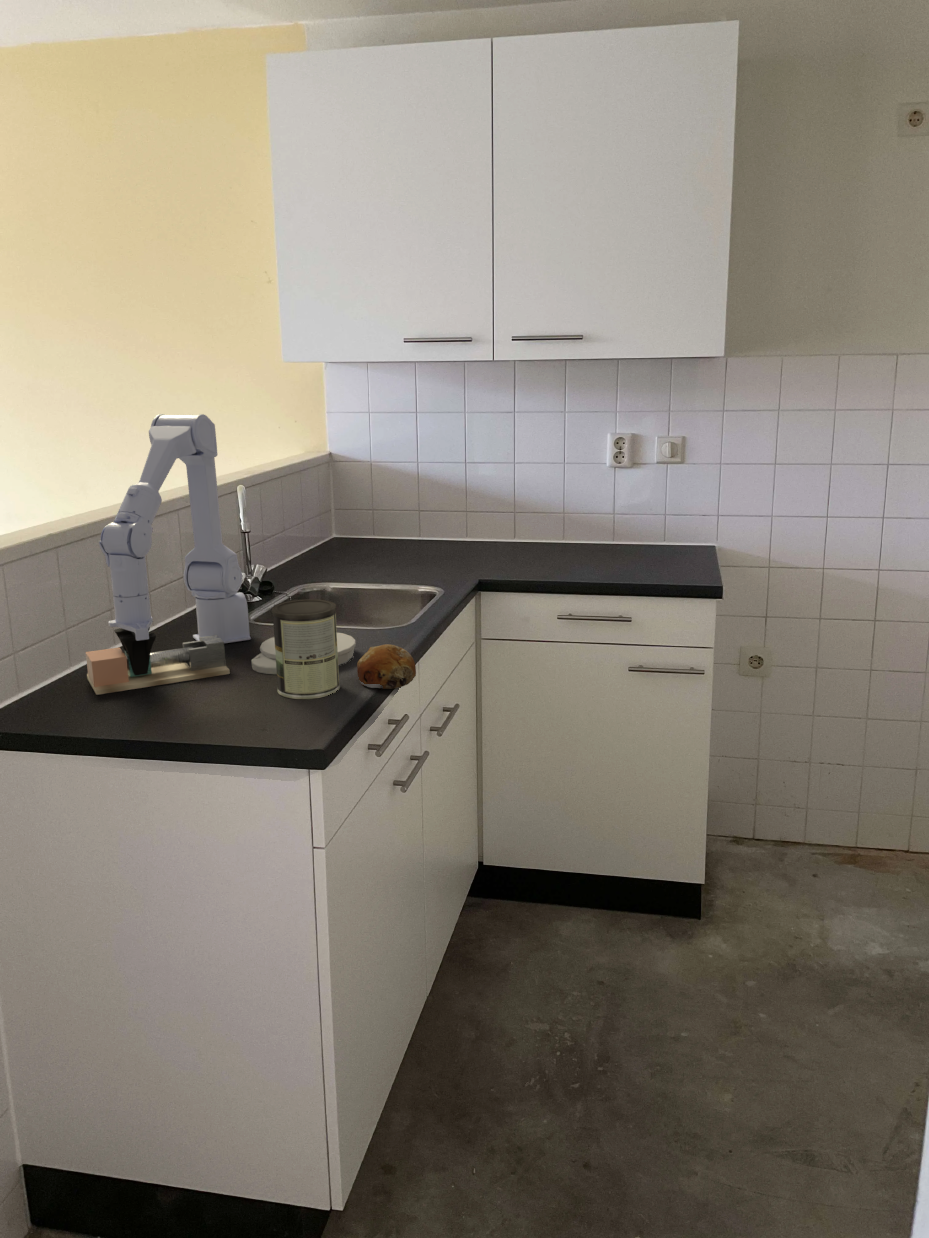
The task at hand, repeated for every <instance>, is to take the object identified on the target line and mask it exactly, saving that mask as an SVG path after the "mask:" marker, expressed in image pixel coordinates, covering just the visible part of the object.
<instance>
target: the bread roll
mask: <svg viewBox="0 0 929 1238" xmlns="http://www.w3.org/2000/svg"><path fill="white" fill-rule="evenodd" d="M356 669H357V678H358V677H359V679H358V681H359V680H360V681H361V682H363V683H364V684H380V685H382V686H383V689H382V690H390V689H399V688H402V687H403V688H404V687H405V686H407V685H409V684H410V683H411V682H412V681H413V680H414V679H415V678H416V675H417V668H416V663H415V659H414V658H413V656H412V655H411V654H410V653H409V652H408V651H407V650H406V649H404V648H403V647H401V646H398V645H395V644H388V643H387V644H381V645H377V646H370V647H369V648H368V650H367V652H365V653H364V654H363V655H362V656H361V657H360V659H358V661H357V663H356Z"/></svg>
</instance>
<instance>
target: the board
mask: <svg viewBox="0 0 929 1238" xmlns="http://www.w3.org/2000/svg"><path fill="white" fill-rule="evenodd" d="M151 672H152V674H147V675H141V676H134V677H130V676H129V674H128V678H129V682H125V683H118V684H112V685H105V686H99V687H94V686H93V684H92V682H91V681H90V679H89V677H88V673H86V679H87V681H88V682H89V684H90V686H91V688H92V689H93V691H94V693H95V695H97V696H98V695H104V694H111V693H117V692H123V691H128V690H135V689H137V690H138V689H142V688H148V687H155V686H156V687H157V686H161V685H168V684H175V683H179V682H181V683H182V682H187V681H192V680H193V681H194V680H201V679H205V678H213V677H218V676H225V675H229V674H230V673H231V672H230V668H228V666H227V665H226V666H222V667H215V668H209V669H202V670H196V671H191V670H190V669H189V668H188V667H187V666H186V665H185V664H184V663H182V664H175V665H168V666H162V667H155V668H151Z"/></svg>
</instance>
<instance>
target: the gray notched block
mask: <svg viewBox="0 0 929 1238" xmlns="http://www.w3.org/2000/svg"><path fill="white" fill-rule="evenodd" d="M188 647H193V648H191V649H188V651H189V663H184V664H185V665H186V666H187V667H188V668H189V669H190V670H191V671H196V670H202V669H209V668H215V667H222V666H226V667H227V664H226V653H225V652H226V651H225V643H224V641H223V640H221V639H220V638H219V637H218V636H217V635H212V636H204V637H199V641H196V640H193V641H186V642H182V648H188Z"/></svg>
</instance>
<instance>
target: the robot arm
mask: <svg viewBox="0 0 929 1238" xmlns="http://www.w3.org/2000/svg"><path fill="white" fill-rule="evenodd" d="M152 419H153V420H152V421H151V424H150V428H149V430H148V437H149V441H150V446H151V447H150V448H149V452H148V454H147V458H146V460H145V462H144V463H145V464H144V467H143V469H142V472H141V475H140V478H139V480H138V482H137V483H135V484H132V485H130V486H129V487H128V489H127V491H126V494H125V496H124V498H123V500H122V503H121V504H120V506H119V509H118V511H117V513H116V516H115V518H114V519H113V522H110V523H108V524H107V525H104V527H103V528H102V530H101V533H100V537H99V538H100V540H99V541H98V546H99V549H100V551H101V552H102V554H103V555H104V558H105V565H106V566H107V567H108V568H109V570H110V571H109V572H110V579H111V580H110V582H111V590H112V599H113V600H112V601H113V607H114V617H115V618H114V619H113V620H108V623H107V624H108V626H109V627H110V628H115V629H114V633H115V634H116V636H117V638H118V639H119V641H120V644H121V646H122V648H123V653H125V650H127V653H128V655H129V659H130V663H131V667H132V670H133V673H134V675H142V674H147V673H148V667H149V659H150V653H152V652H151V651H152V648H153V646H154V643H155V641H156V638H157V635H156V634H155V632H152V633H151V632H150V629H151V625H152V624H153V622H154V621H153V616H152V613H151V603H150V592H149V581H148V580H149V579H148V571H147V561H146V560H147V559H146V556H147V555H148V553H150V550H151V549H152V543H153V538H152V535H153V526H152V525H153V523H154V520H155V518H156V515H157V514H158V511H159V509H160V507H161V504H162V501H163V499H162V496H161V494H160V489H161V488H162V485H163V484H164V482H165V481H166V479H167V477H168V475H169V473H170V472H171V469H172V468H173V466H174V464H175V463H176V460H177V459H179V460H180V461H181V462H182V463H184V464H185V467H186V477H187V486H188V487H187V488H188V496H189V505H190V506H189V507H190V515H191V516H190V517H191V523H192V526H191V527H192V533H193V534H192V535H193V543H194V544H193V545H194V547H193V548H192V549H191V550H190V551H189V552H188V553H187V554H186V555H185V556H184V570H183V583H184V585H185V587H186V590H187V591H189V592H191V597H194V600H195V609H196V610H195V611H196V612H195V613H196V621H197V634H192V638H193V639H194V641H199V637H204V636H212V635H217V636H218V637H219V638H220V639H221V640H223V641H224V644H228V643H236V642H242V641H249V640H251V639H252V638H251V636H250V635H251V634H250V622H249V620H250V619H249V609H248V607H249V606H248V602H247V599H246V596H245V594H244V592H240V591H239V590H240V589H241V586H242V582H243V573H242V568H241V567H240V564H239V560H238V558H239V557H238V554H237V552H235V551H234V550H232V549H231V548H229V547H228V546H226V545H225V544H224V543H223V534H222V533H223V532H222V523H221V521H222V520H221V512H220V501H219V493H218V491H219V489H218V482H217V470H216V460H215V458H216V457H218V446H217V445H218V444H217V433H216V424H215V423H214V422H213V420H211V418H209V416H207V415H206V414H204V413H199V414H161V413H159V414H156V415H155V416H154V418H152ZM238 591H239V592H238ZM149 632H150V633H149Z"/></svg>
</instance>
